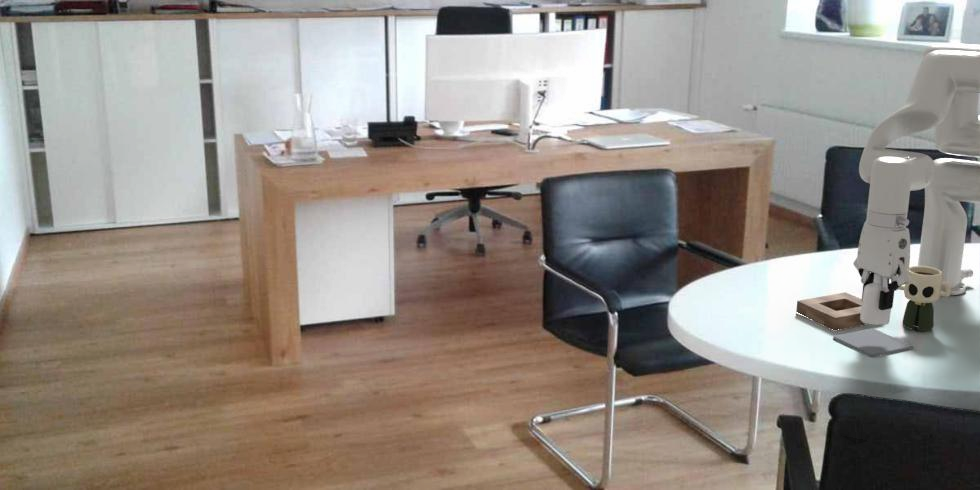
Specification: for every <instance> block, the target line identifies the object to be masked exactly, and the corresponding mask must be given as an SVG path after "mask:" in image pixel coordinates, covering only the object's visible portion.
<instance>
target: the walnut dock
mask: <svg viewBox="0 0 980 490" xmlns="http://www.w3.org/2000/svg"><path fill="white" fill-rule="evenodd" d="M796 302H797V303H796V312H798V313H800V314H802V315H804V316H806V317H808V318H809V319H812V320H813V321H812V322H814V321H815V322H814V323H816V322H817V323H816V324H818V323H819V324H818V325H820V324H822V325H824V326H826V327H825V328H827V327H828V328H827V329H829V328H830V329H829V330H831V329H833V330H837V331H840V329H842V330H844V329H845V328H847V329H851V328H850V327H852V328H856V326H857V327H862V326H867V325H866V324H865V323H863V322H862V321H861V320H860V314H861V306H862V298H860V297H857V296H856V295H853V294H850V293H849V292H841V293H835V294H827V295H823V296H817V297H813V298H806V299H801V300H800V299H799V300H797V301H796ZM809 319H808V320H809ZM822 325H821V326H822ZM861 325H862V326H861ZM824 326H823V327H824ZM838 329H839V330H838ZM833 330H832V331H833Z"/></svg>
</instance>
